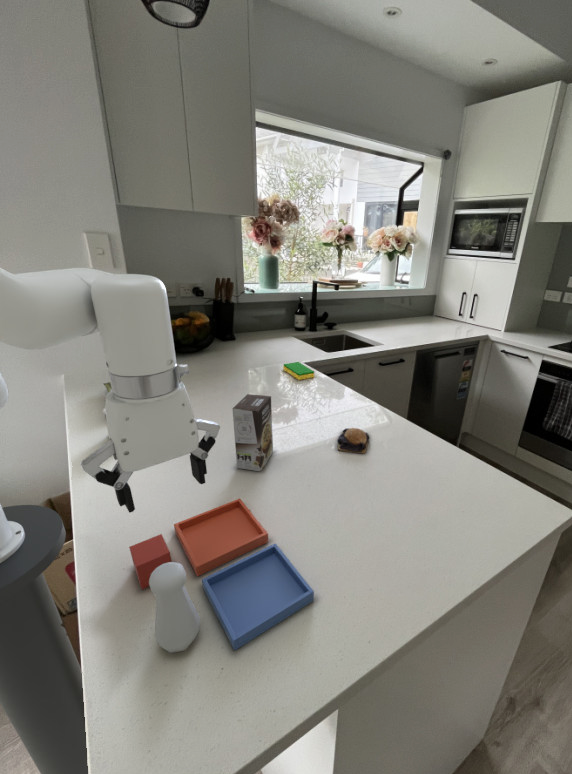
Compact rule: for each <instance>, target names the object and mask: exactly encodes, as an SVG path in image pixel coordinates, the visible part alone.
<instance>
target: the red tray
mask: <svg viewBox="0 0 572 774" xmlns="http://www.w3.org/2000/svg"><path fill="white" fill-rule="evenodd" d="M173 528H174V533H175V535H176V537H177V539H178V541H179V544H180V545H181V548H182V549H183V551H184V553H185V555H186V557H187V559H188V562H189V563H190V565H191V567H192V569H193V572H194V573H195V576H196V577H200V576H201V575H203V574H205V573H207V572H209V571H212V570H214V569H216V568H218V567H220V566H221V565H224V564H226V563H228V562H230V561H232V560H234V559H237V558H238V557H240V556H242V555H243V556H244V554H247V553H249V552H250V551H253V550H255V549H257V548H259V547H261V546H263V545H265V544H267V543H269V533H268V532H267V530H266V529H265V528H264V527H263V525H262V524H261V522H259V520H258V519H257V518H256V516H255V515H254V514H253V513H252V511H251V510H250V509H249V507H247V505H246V504H245V503H244V501H243V500H242V499H241V498H240V497H239V498H237V499H234V500H232V501H229V502H227V503H224V504H221V505H219V506H217V507H214V508H212V509H209V510H206V511H204V512H201V513H199V514H196V515H193V516H191V517H188V518H186V519H184V520H181V521H178V522H176V523H174V524H173Z"/></svg>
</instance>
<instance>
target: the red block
mask: <svg viewBox="0 0 572 774" xmlns="http://www.w3.org/2000/svg"><path fill="white" fill-rule="evenodd" d="M128 548H129V551H130V555H131V559H132V564H133V567H134V571H135V573H136V577H137V580H138V582H139V585H140V589H141V590H144V589H146V588H148V587H150V585H149V579H150V576H151V573H152V572H153V571H154V570H155V569H156V568H157V567H159V566H160V565H162V564H164V563H168V562H173V560H172V556H171V552H170V550H169V547H168V545H167V543H166V540H165V538H164V536H163V534H162V533H160V534H157V535H155V536H153V537H150V538H147V539H146V540H143V541H140V542H138V543H135V544H133V545H130V546H129V547H128Z"/></svg>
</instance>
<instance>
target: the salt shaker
mask: <svg viewBox="0 0 572 774" xmlns="http://www.w3.org/2000/svg"><path fill="white" fill-rule="evenodd" d="M186 581H187V572H186V570H185V567H184V566H183V564H181V563H179V562H177V561H176V562H175V561H172V562H168V563H164V564H162V565H160V566H159V567H157V568H156V569H155V570H154V571H153V572H152V573H151V576H150V579H149V585H150V586H149V588H150V592H151V593H152V595H154V596H155V611H154V637H155V640H156V643H157V645H158V646H160V647H161V648H162V649H163V650H165V651H167V652H168V653H170V654H172V653H178V652H183V651H186V650H187V649H188V648H189V646H190V645H191V644H192V643H193V642H194V641H195V640H196V638H197V635H198V634H199V631H200V627H201V626H200V624H201V618H200V615H199V613H198V610H197V608H196V607H195V605H194V603H193V600H192V598H191V596H190V595H189V592H188V590H187V588H186V586H185V584H186Z"/></svg>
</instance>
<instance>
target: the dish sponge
mask: <svg viewBox="0 0 572 774" xmlns="http://www.w3.org/2000/svg"><path fill="white" fill-rule="evenodd" d="M282 365H283V367H282V368H283V370H284V371H285V372H286V373H287V374H289V375H291V376H292V377H294V378H295V379H296V380H298V381H301V380H307V379H311V378H315V371H314V370H312V368H310V367H307V366H306V365H304V364H303V363H301V362H300V361H293V362H287V363H283V364H282Z"/></svg>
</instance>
